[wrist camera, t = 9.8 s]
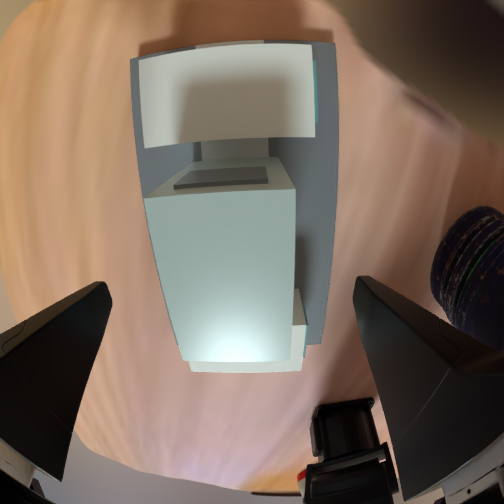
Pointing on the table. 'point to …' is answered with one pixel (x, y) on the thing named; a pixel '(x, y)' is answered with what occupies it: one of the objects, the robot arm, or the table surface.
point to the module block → (227, 258)
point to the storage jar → (473, 275)
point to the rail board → (251, 146)
